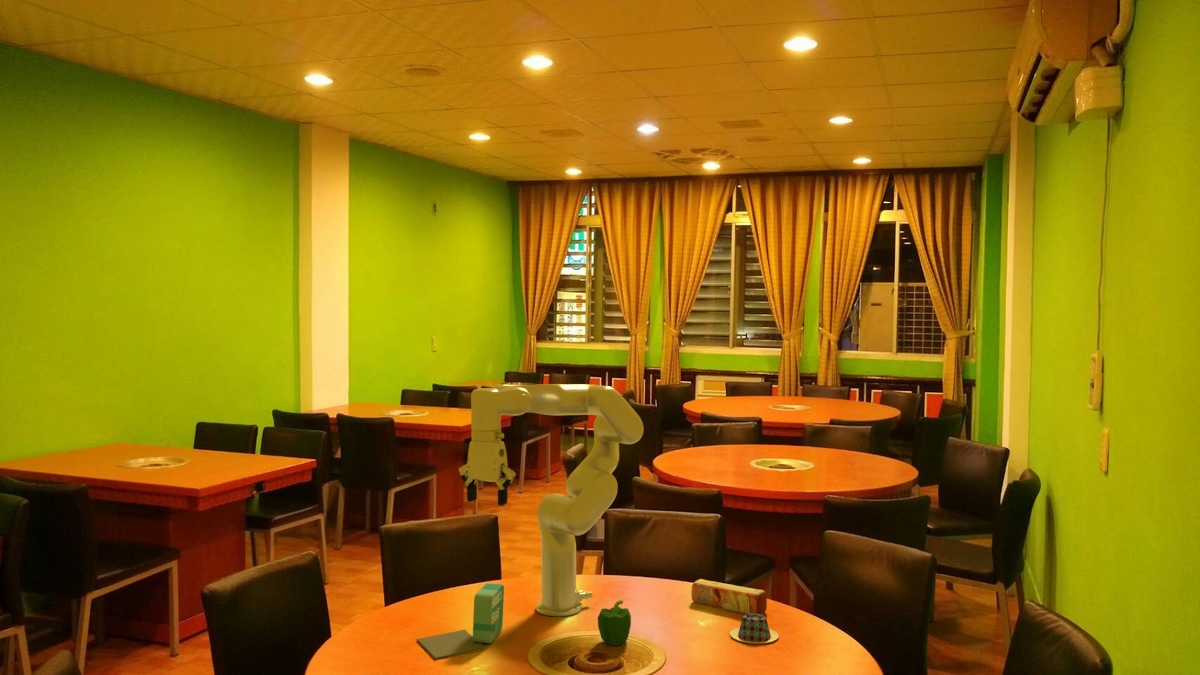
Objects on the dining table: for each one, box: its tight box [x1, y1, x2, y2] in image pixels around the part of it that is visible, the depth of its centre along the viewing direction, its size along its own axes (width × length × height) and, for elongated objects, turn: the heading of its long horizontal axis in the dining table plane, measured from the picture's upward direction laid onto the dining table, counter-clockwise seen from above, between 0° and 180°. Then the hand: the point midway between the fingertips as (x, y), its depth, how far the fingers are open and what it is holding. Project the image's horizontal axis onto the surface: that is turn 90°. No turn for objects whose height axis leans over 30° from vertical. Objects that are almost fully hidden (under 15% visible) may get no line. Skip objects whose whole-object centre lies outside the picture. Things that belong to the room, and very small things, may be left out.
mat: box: [416, 629, 486, 661], centre depth 219 cm, size 12×14×1 cm
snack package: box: [691, 578, 768, 615], centre depth 245 cm, size 21×7×7 cm, turn 51°
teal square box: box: [472, 582, 505, 644], centre depth 224 cm, size 12×4×12 cm, turn 172°
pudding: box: [729, 613, 780, 644], centre depth 223 cm, size 12×12×5 cm
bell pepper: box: [597, 599, 632, 647], centre depth 220 cm, size 8×8×10 cm
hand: (487, 502), depth 230 cm, fingers open, 9 cm apart
